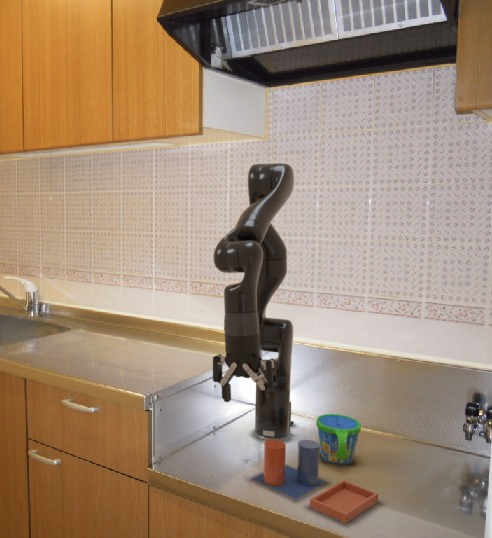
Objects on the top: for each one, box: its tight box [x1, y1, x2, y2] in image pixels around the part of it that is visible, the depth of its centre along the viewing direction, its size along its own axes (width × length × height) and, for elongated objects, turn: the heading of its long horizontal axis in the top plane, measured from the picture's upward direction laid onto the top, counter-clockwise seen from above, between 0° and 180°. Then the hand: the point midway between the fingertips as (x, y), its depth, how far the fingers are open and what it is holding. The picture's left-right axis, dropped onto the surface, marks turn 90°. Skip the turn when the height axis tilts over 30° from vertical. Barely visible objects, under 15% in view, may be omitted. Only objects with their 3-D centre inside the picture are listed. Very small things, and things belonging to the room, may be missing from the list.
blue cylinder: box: [296, 439, 321, 486], centre depth 132 cm, size 5×5×9 cm
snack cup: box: [315, 413, 362, 466], centre depth 144 cm, size 16×10×10 cm
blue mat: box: [252, 464, 327, 500], centre depth 133 cm, size 12×12×1 cm
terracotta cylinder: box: [263, 440, 287, 486], centre depth 132 cm, size 5×5×9 cm
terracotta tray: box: [309, 479, 379, 524], centre depth 122 cm, size 13×8×2 cm, turn 130°
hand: (245, 403), depth 127 cm, fingers open, 8 cm apart
